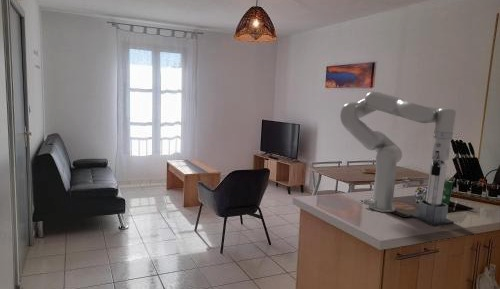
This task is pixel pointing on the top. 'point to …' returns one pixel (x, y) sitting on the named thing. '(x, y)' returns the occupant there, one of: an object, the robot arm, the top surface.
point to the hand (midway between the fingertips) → (437, 174)
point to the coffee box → (447, 192)
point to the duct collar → (432, 214)
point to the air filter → (436, 186)
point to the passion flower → (420, 193)
